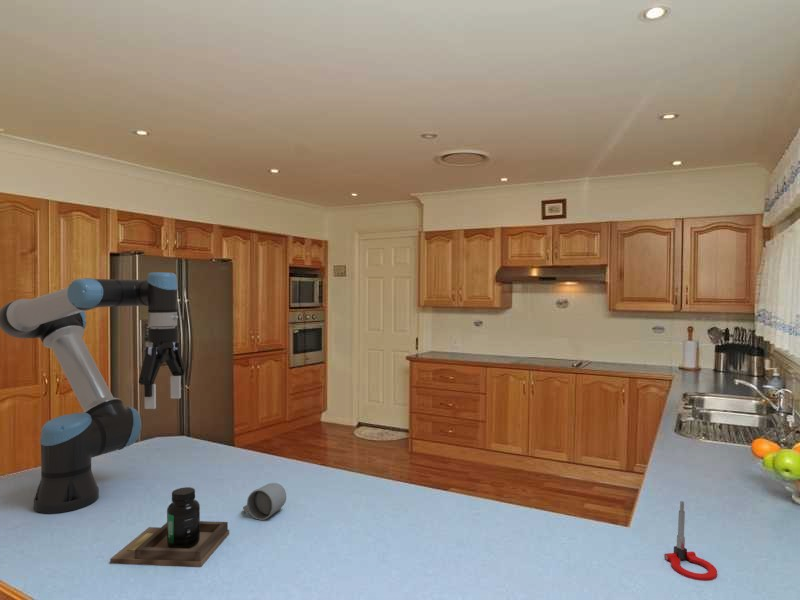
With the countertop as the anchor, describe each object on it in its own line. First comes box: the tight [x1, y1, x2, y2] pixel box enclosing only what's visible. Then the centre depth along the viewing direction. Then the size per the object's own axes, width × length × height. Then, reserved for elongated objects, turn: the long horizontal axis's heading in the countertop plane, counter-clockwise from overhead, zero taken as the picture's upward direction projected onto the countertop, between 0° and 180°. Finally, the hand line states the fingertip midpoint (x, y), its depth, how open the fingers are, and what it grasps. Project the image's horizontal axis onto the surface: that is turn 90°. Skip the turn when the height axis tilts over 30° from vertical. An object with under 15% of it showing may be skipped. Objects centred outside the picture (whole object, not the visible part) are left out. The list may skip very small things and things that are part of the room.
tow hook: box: [663, 500, 718, 582], centre depth 109 cm, size 8×13×9 cm
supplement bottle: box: [166, 486, 201, 549], centre depth 118 cm, size 7×7×12 cm
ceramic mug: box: [242, 482, 287, 521], centre depth 137 cm, size 11×8×8 cm
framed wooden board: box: [109, 520, 230, 568], centre depth 118 cm, size 20×15×3 cm
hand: (163, 403), depth 147 cm, fingers open, 13 cm apart
